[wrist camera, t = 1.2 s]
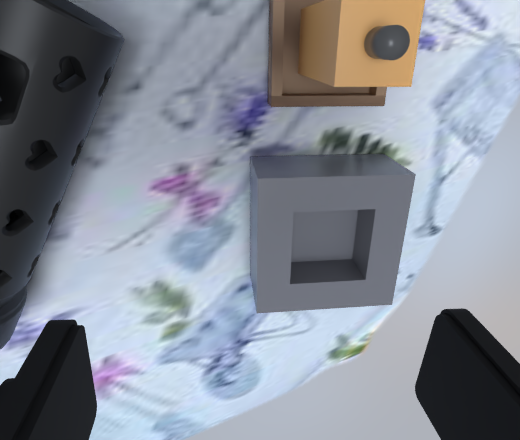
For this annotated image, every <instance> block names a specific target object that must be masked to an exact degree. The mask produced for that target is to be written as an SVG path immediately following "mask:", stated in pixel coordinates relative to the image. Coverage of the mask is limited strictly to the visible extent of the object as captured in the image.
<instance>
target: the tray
mask: <svg viewBox="0 0 520 440" xmlns="http://www.w3.org/2000/svg"><path fill="white" fill-rule="evenodd" d="M321 1H324V0H270V3H269V63H268V104H269V105H270V106H271V107H308V106H384V104H385V97H386V89H387V87H333V86H331V85H328V84H325V83H322V82H320V81H317V80H314V79H311V78H309V77H306V76H303V75H300V74H298V64H299V42H300V21H301V9H302V8H305V7H308V6H310V5H313V4H316V3H319V2H321Z"/></svg>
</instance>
